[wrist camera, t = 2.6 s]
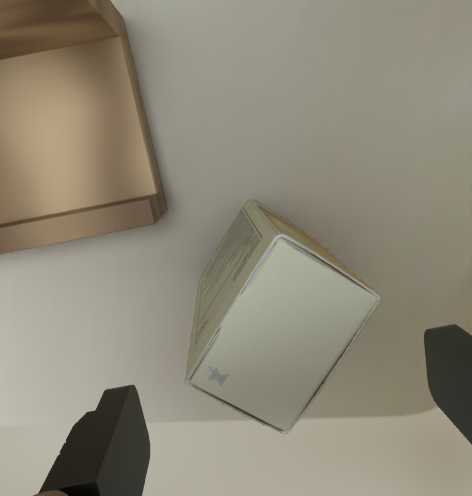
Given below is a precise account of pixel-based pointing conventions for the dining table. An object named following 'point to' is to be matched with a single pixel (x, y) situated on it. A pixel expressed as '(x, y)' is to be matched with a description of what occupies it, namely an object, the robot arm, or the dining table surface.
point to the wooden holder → (71, 126)
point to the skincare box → (273, 319)
